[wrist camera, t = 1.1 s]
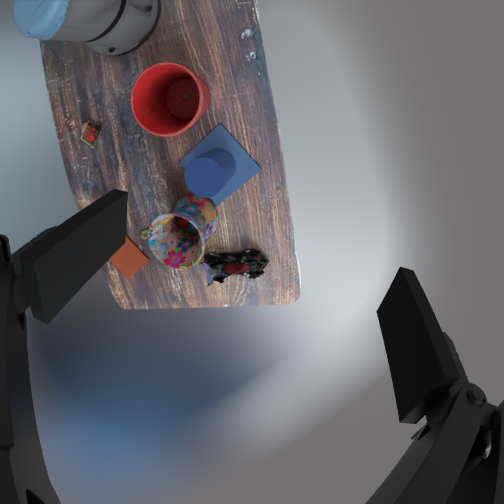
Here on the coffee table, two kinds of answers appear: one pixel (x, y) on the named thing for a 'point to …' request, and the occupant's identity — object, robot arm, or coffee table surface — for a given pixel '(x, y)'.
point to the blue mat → (243, 161)
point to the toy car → (234, 265)
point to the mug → (182, 232)
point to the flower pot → (168, 99)
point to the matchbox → (90, 133)
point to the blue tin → (210, 172)
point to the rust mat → (129, 258)
